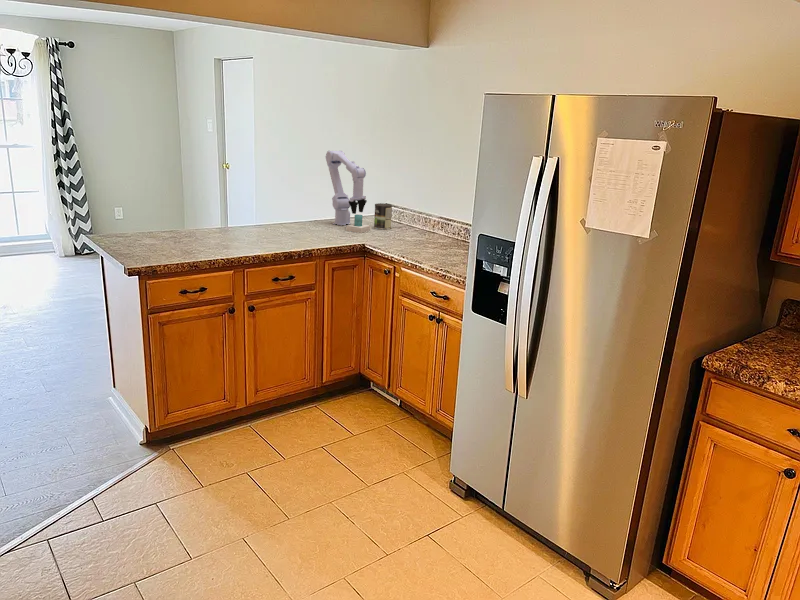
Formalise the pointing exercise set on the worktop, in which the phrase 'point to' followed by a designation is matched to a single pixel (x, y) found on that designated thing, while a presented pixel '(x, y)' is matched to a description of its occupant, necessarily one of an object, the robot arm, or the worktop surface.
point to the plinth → (357, 228)
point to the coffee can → (382, 216)
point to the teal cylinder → (358, 220)
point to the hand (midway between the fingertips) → (357, 212)
